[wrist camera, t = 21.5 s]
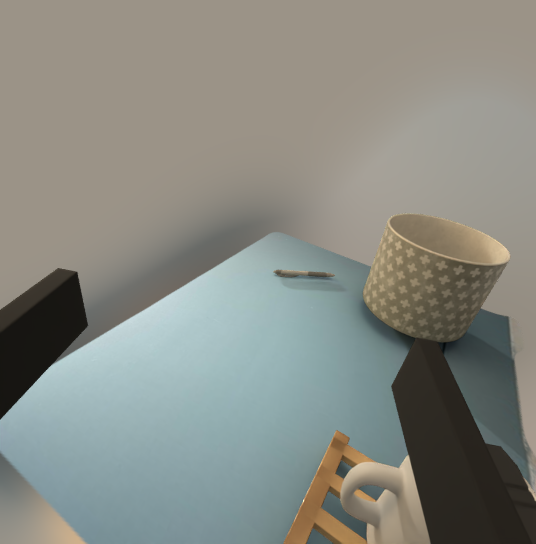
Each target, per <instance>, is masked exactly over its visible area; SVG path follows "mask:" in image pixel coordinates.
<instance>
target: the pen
mask: <svg viewBox="0 0 536 544" xmlns="http://www.w3.org/2000/svg"><path fill="white" fill-rule="evenodd" d="M274 273H276V274H277V275H278V276H283V277H296V276H298V275H302V276H315V277H333V276H335V275H334V274H331V273H324V272H308V271H290V270H276V271H274ZM285 275H288V276H285Z"/></svg>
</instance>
